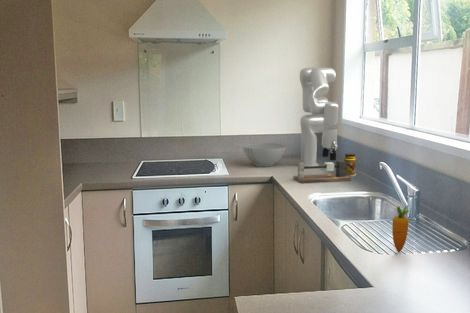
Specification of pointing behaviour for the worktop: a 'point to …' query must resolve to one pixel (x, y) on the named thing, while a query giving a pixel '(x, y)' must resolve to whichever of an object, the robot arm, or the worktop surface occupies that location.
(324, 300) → the worktop surface
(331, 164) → the sleeve
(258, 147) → the decorative bowl
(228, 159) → the worktop surface
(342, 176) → the rod slider rig
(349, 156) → the condiment
